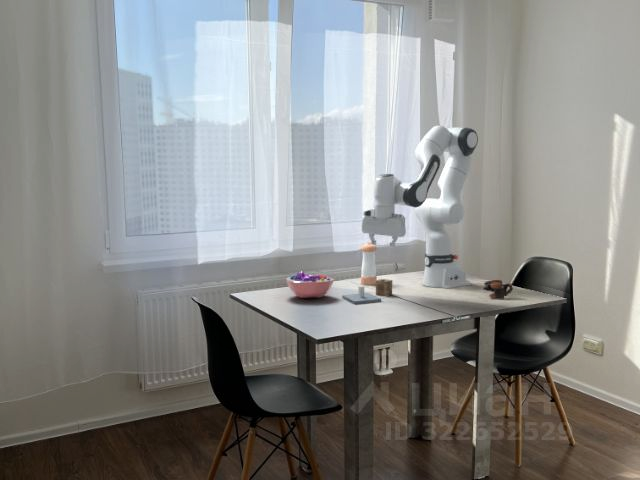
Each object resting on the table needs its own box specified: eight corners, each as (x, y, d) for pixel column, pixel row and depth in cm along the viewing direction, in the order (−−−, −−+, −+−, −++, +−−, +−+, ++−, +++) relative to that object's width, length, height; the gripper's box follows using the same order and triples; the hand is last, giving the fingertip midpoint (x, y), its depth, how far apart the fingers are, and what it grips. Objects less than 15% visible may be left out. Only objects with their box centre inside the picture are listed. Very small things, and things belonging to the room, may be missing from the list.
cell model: (329, 303, 258) (329, 275, 256) (281, 301, 262) (281, 274, 260) (337, 294, 274) (337, 268, 272) (291, 292, 278) (291, 266, 276)
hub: (368, 295, 271) (368, 282, 270) (381, 301, 260) (381, 287, 259) (342, 298, 267) (342, 284, 266) (354, 304, 256) (354, 290, 255)
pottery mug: (483, 300, 264) (480, 281, 267) (487, 305, 272) (484, 287, 275) (513, 295, 260) (509, 275, 263) (516, 300, 268) (513, 282, 271)
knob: (382, 292, 276) (382, 277, 275) (392, 294, 273) (392, 278, 272) (375, 294, 272) (375, 279, 271) (385, 296, 269) (386, 280, 268)
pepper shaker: (376, 282, 299) (377, 241, 296) (376, 285, 291) (376, 243, 289) (361, 281, 299) (361, 241, 297) (360, 285, 292) (360, 243, 289)
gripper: (409, 214, 264) (408, 247, 266) (368, 211, 277) (367, 242, 279) (401, 215, 260) (399, 248, 261) (360, 211, 272) (359, 243, 274)
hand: (382, 245), depth 270 cm, fingers open, 8 cm apart
